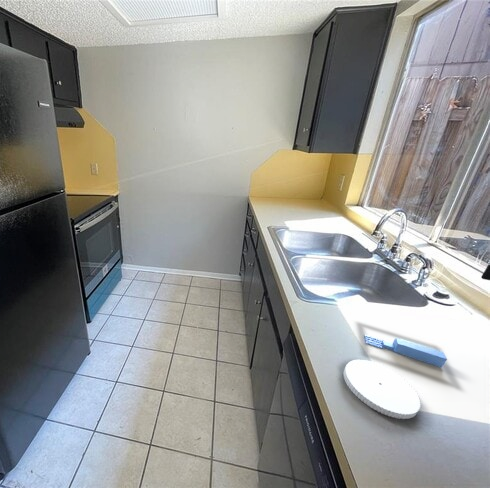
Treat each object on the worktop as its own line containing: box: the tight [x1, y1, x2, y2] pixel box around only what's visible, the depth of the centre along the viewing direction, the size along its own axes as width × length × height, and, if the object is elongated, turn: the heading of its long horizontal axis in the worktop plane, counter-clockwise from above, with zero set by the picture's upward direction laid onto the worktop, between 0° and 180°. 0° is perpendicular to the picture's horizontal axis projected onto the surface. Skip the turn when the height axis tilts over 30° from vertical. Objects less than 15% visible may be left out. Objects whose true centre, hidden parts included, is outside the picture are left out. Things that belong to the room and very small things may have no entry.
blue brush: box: [363, 334, 448, 368], centre depth 71 cm, size 16×4×4 cm, turn 61°
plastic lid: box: [342, 359, 422, 420], centre depth 60 cm, size 14×14×2 cm
